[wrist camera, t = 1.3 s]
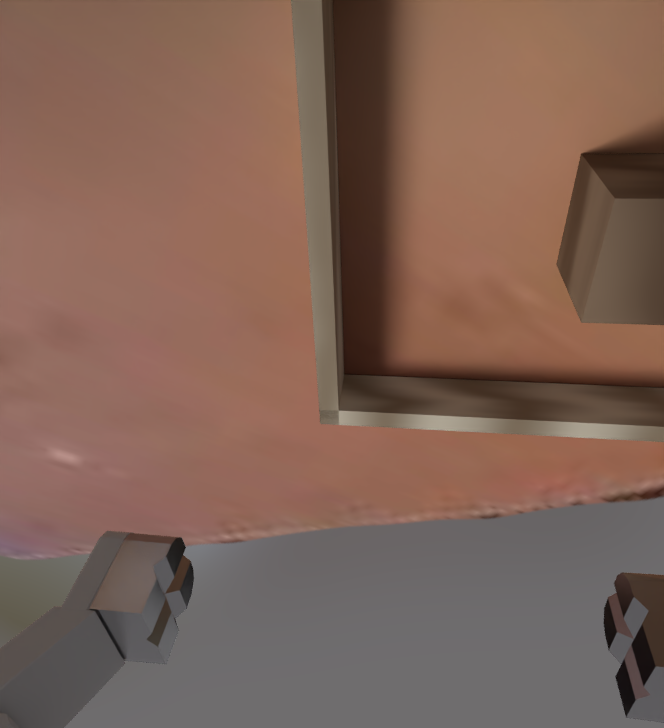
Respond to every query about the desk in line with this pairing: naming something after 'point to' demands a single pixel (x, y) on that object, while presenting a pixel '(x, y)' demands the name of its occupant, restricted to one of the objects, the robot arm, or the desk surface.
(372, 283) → the desk surface
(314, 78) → the u-shaped low wall enclosure
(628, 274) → the walnut block
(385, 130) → the desk surface
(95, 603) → the robot arm
